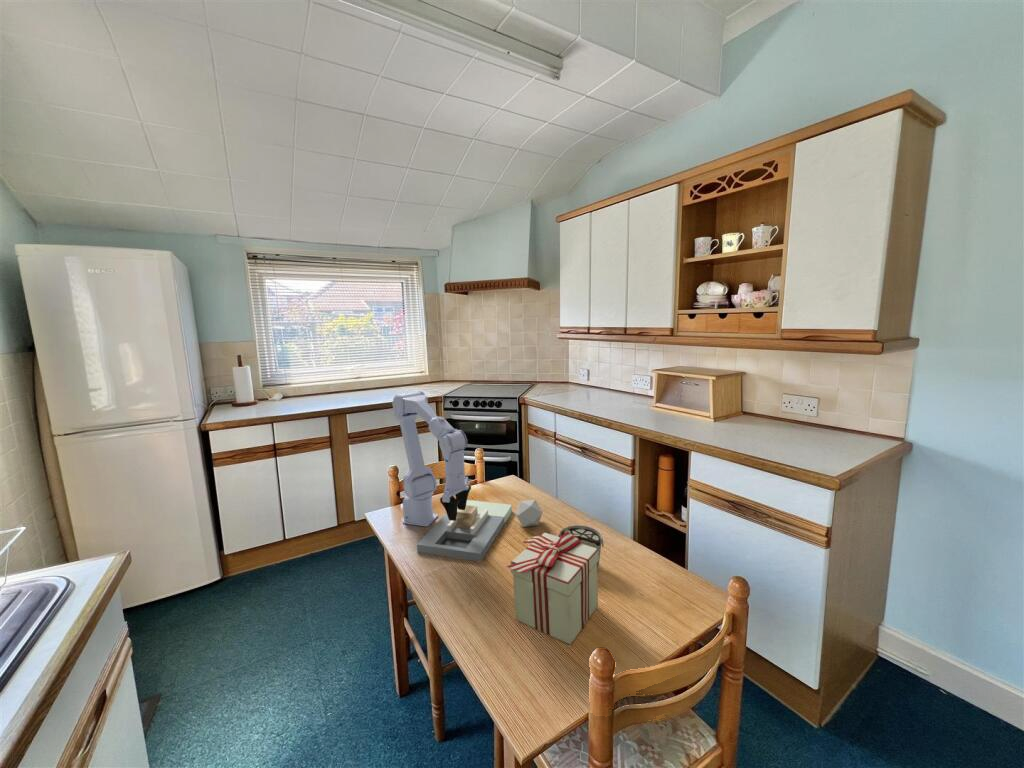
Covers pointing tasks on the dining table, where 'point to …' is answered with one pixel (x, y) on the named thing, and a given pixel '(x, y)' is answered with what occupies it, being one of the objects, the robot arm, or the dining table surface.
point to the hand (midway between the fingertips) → (457, 514)
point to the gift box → (555, 585)
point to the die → (529, 513)
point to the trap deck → (466, 533)
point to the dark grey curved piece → (585, 536)
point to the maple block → (467, 516)
